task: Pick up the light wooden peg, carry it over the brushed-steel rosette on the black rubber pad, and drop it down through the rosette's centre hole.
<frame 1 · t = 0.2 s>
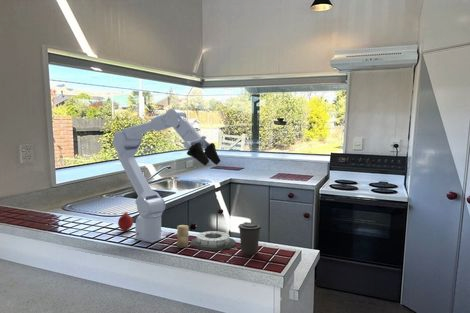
hand: (212, 163, 114), 31 cm above the table, tool tilted 45°, fingers open, 7 cm apart
peg: (182, 245, 121), on the table
coffee cup: (249, 252, 115), on the table
onion: (125, 231, 138), on the table
rosette: (213, 243, 124), on the table
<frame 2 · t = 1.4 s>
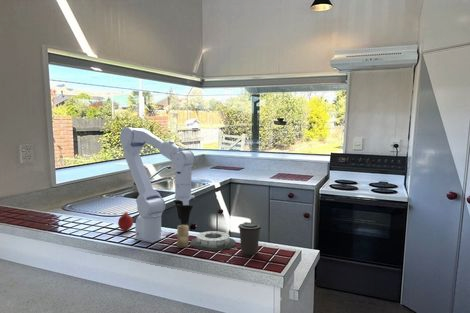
hand: (183, 221, 121), 9 cm above the table, tool pointing down, fingers open, 7 cm apart
nothing on the table moved.
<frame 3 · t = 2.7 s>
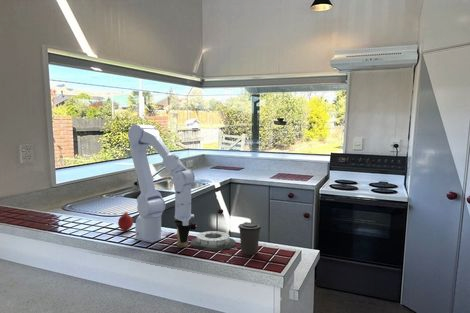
hand: (182, 240, 121), 2 cm above the table, tool pointing down, fingers closed on peg, 4 cm apart
peg: (182, 245, 121), on the table, touching gripper
everything else where it was.
when the fingers open (4 cm above the table, at t = 6.8 s): peg drops 2 cm, resting on rosette.
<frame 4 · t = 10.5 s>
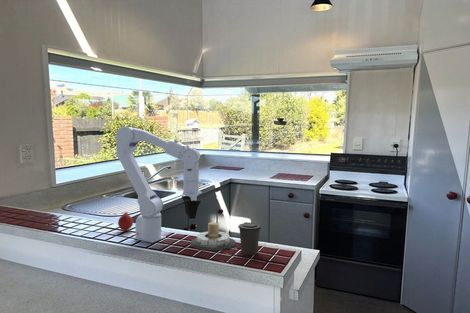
hand: (190, 216, 126), 9 cm above the table, tool pointing down, fingers open, 7 cm apart
peg: (213, 242, 124), resting on rosette
everything else where it was.
at the end: peg 0.0 cm off-centre on the rosette, point 0.3 cm above the rosette's base; peg tilted 0°; the gripper is holding nothing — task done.
